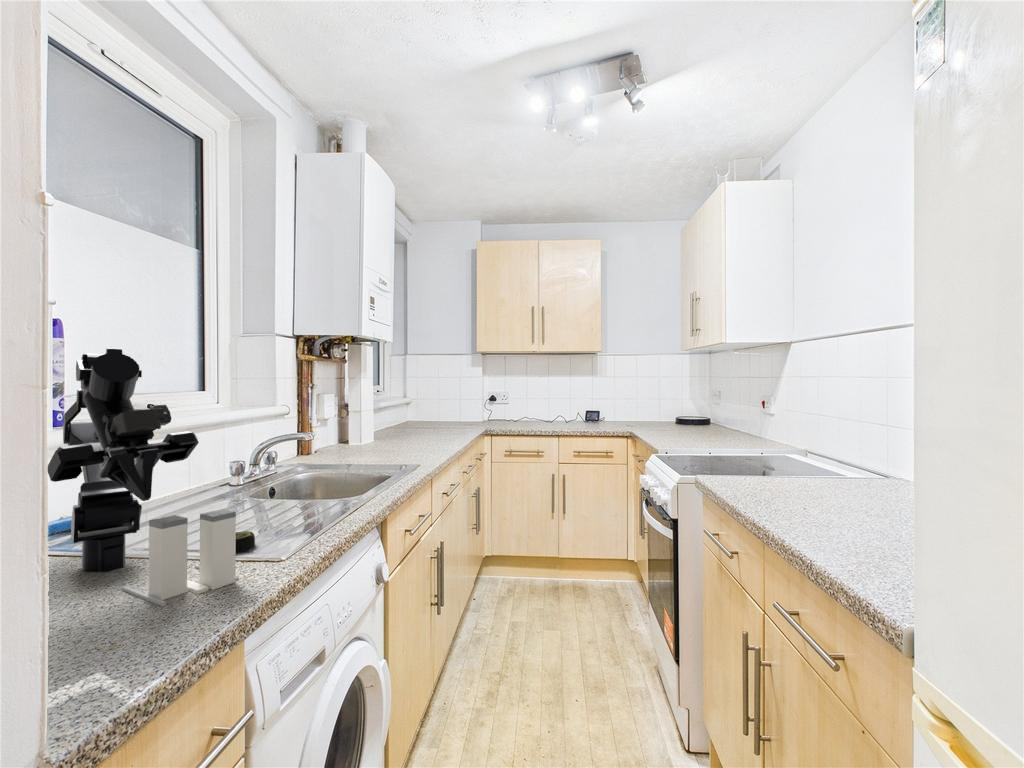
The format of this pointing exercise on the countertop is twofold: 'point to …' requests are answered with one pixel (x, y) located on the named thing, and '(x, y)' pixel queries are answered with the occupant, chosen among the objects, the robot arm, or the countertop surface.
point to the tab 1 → (167, 557)
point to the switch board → (191, 587)
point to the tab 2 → (217, 548)
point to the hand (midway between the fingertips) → (147, 499)
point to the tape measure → (244, 541)
